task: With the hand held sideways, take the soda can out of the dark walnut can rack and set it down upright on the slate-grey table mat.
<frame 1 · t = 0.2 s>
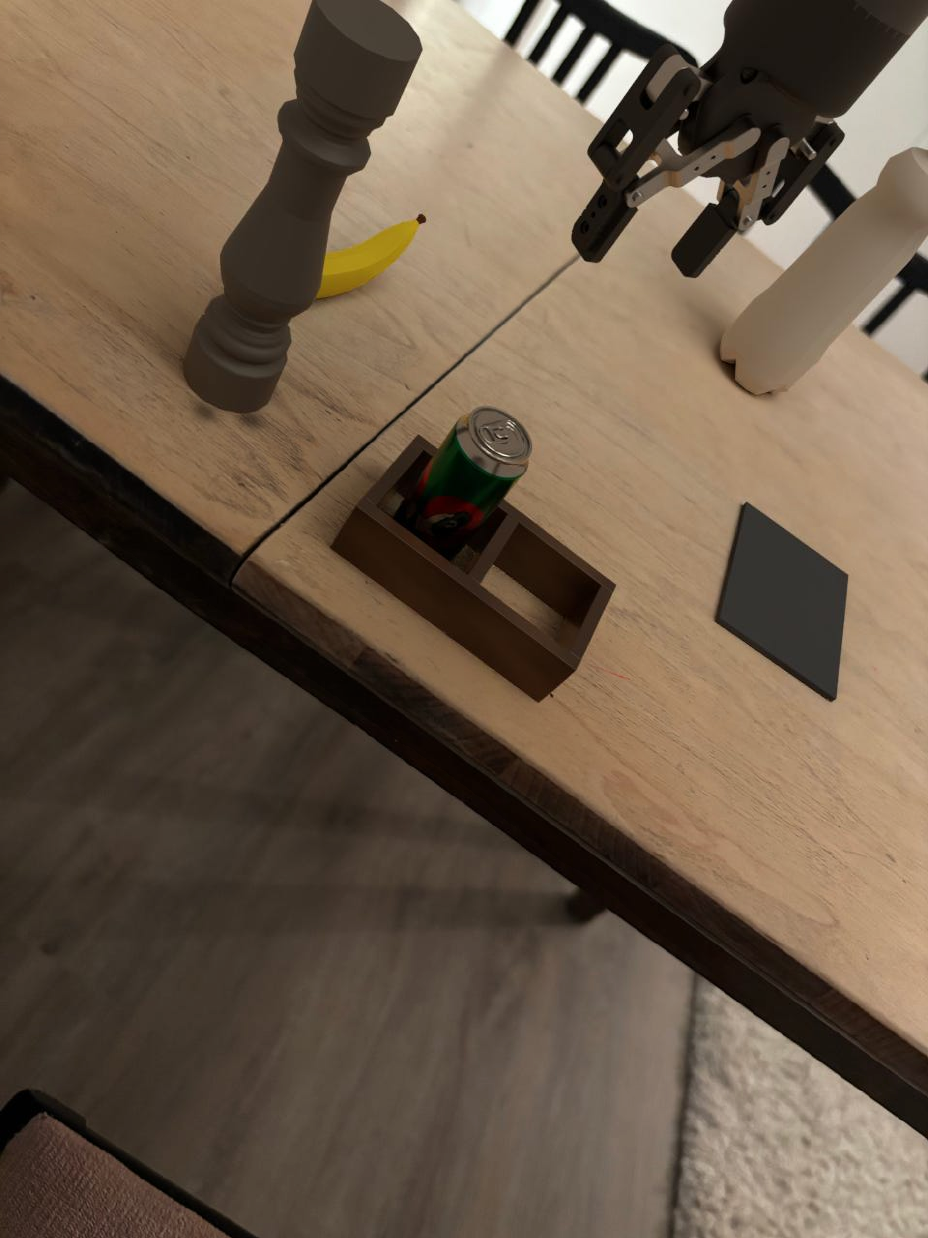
hand: (634, 260, 53), 22 cm above the table, tool pointing down, fingers open, 8 cm apart
can rack: (462, 584, 65), on the table
soda can: (413, 550, 64), resting in can rack
candle holder: (227, 379, 65), on the table
table mat: (784, 598, 82), on the table
banana: (306, 295, 73), on the table
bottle: (745, 371, 100), on the table
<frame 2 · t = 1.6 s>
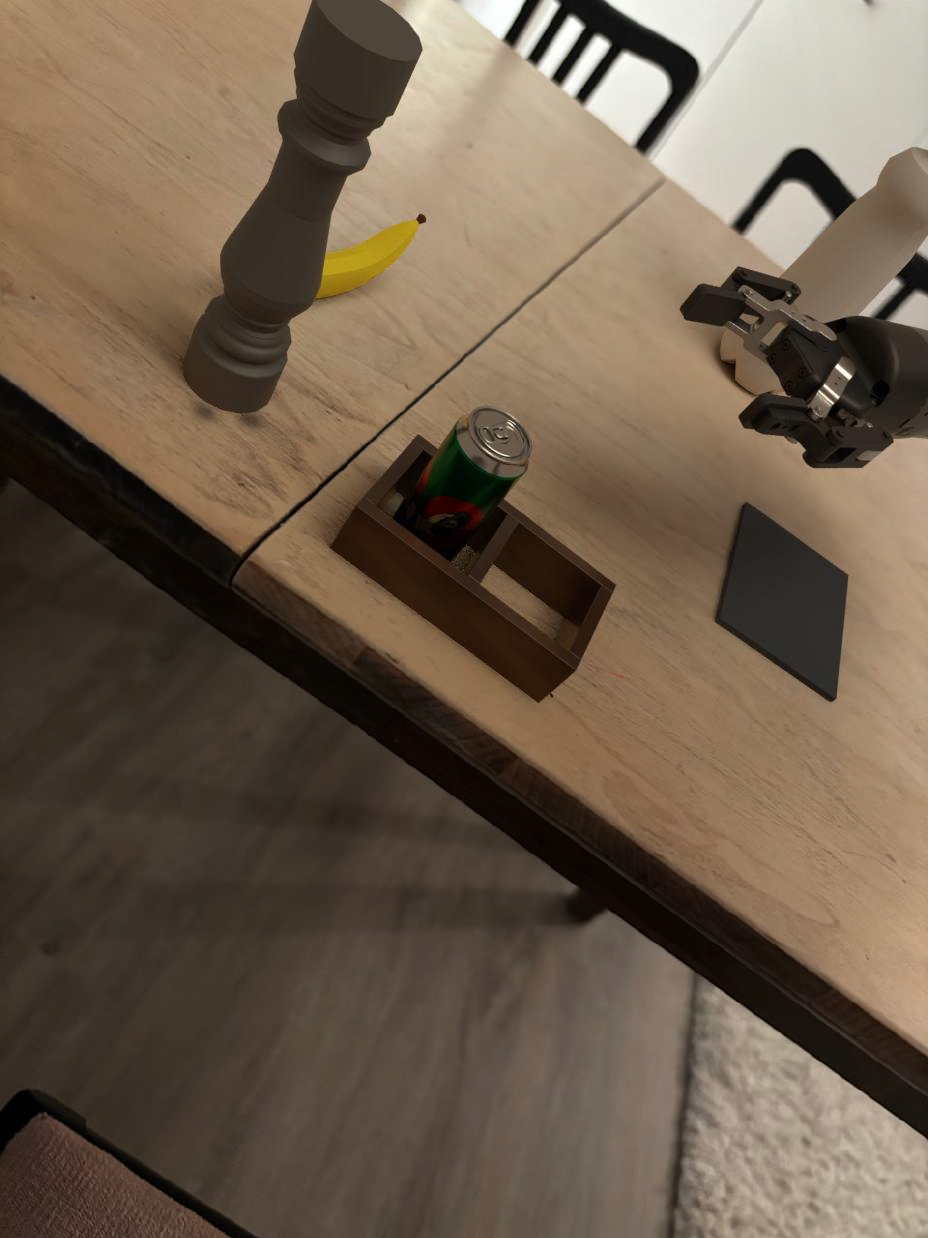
hand: (719, 354, 55), 20 cm above the table, tool horizontal, fingers open, 8 cm apart
nothing on the table moved.
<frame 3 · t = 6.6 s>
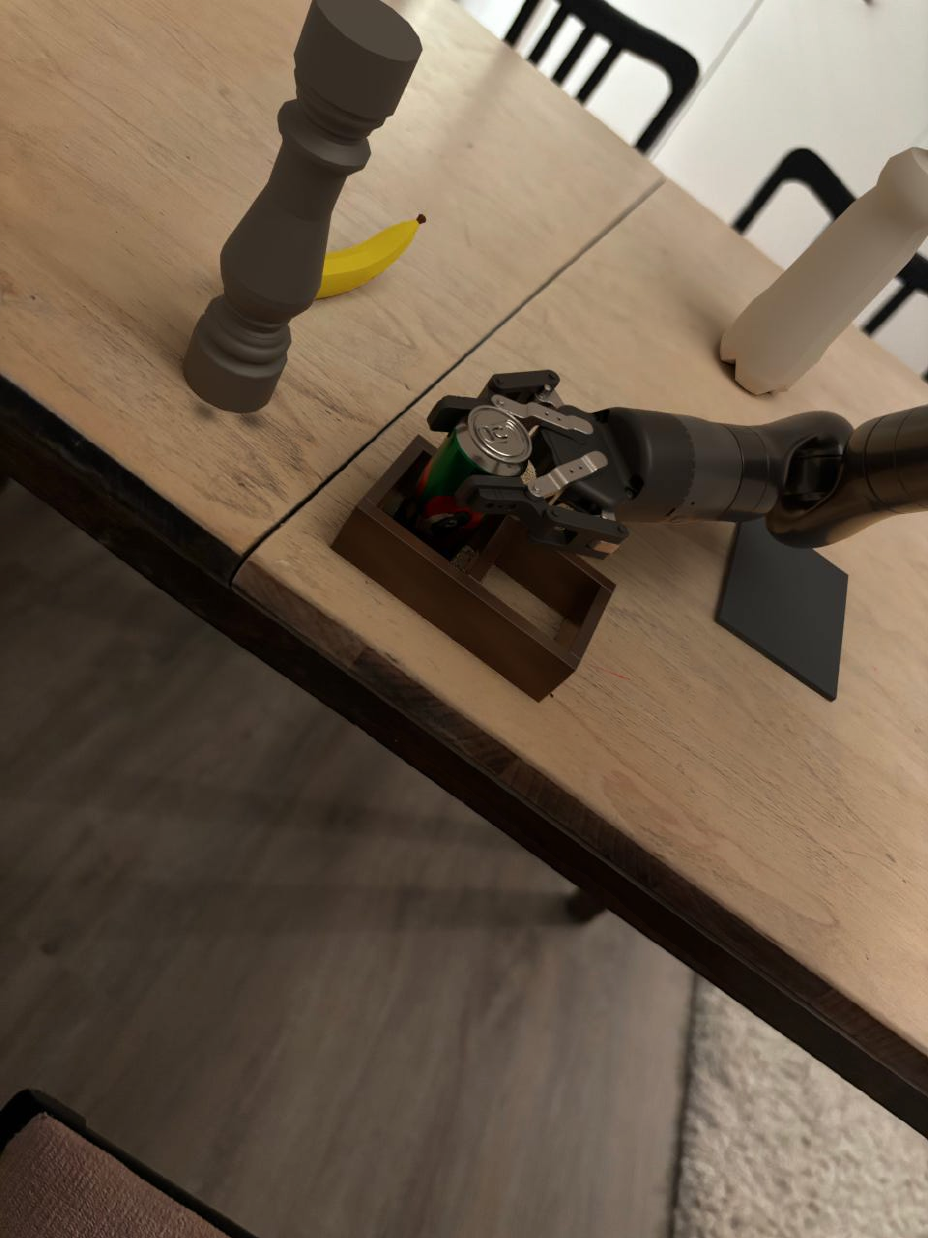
hand: (448, 452, 56), 10 cm above the table, tool horizontal, fingers closed on soda can, 5 cm apart
soda can: (414, 550, 64), resting in can rack, touching gripper
everything else where it was.
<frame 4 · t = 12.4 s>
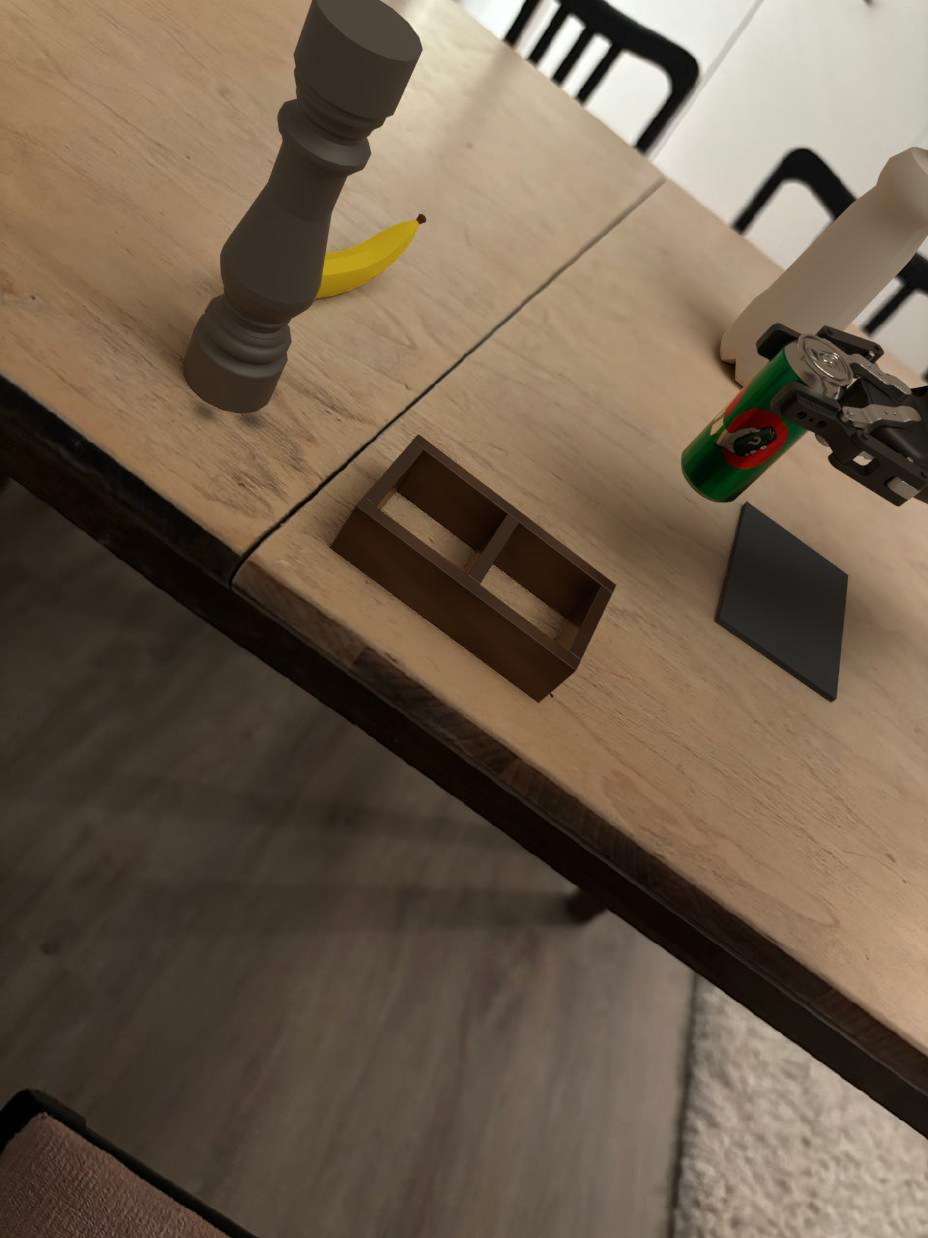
hand: (773, 366, 60), 19 cm above the table, tool horizontal, fingers closed on soda can, 5 cm apart
soda can: (703, 481, 68), point 9 cm above the table, touching gripper
everything else where it was.
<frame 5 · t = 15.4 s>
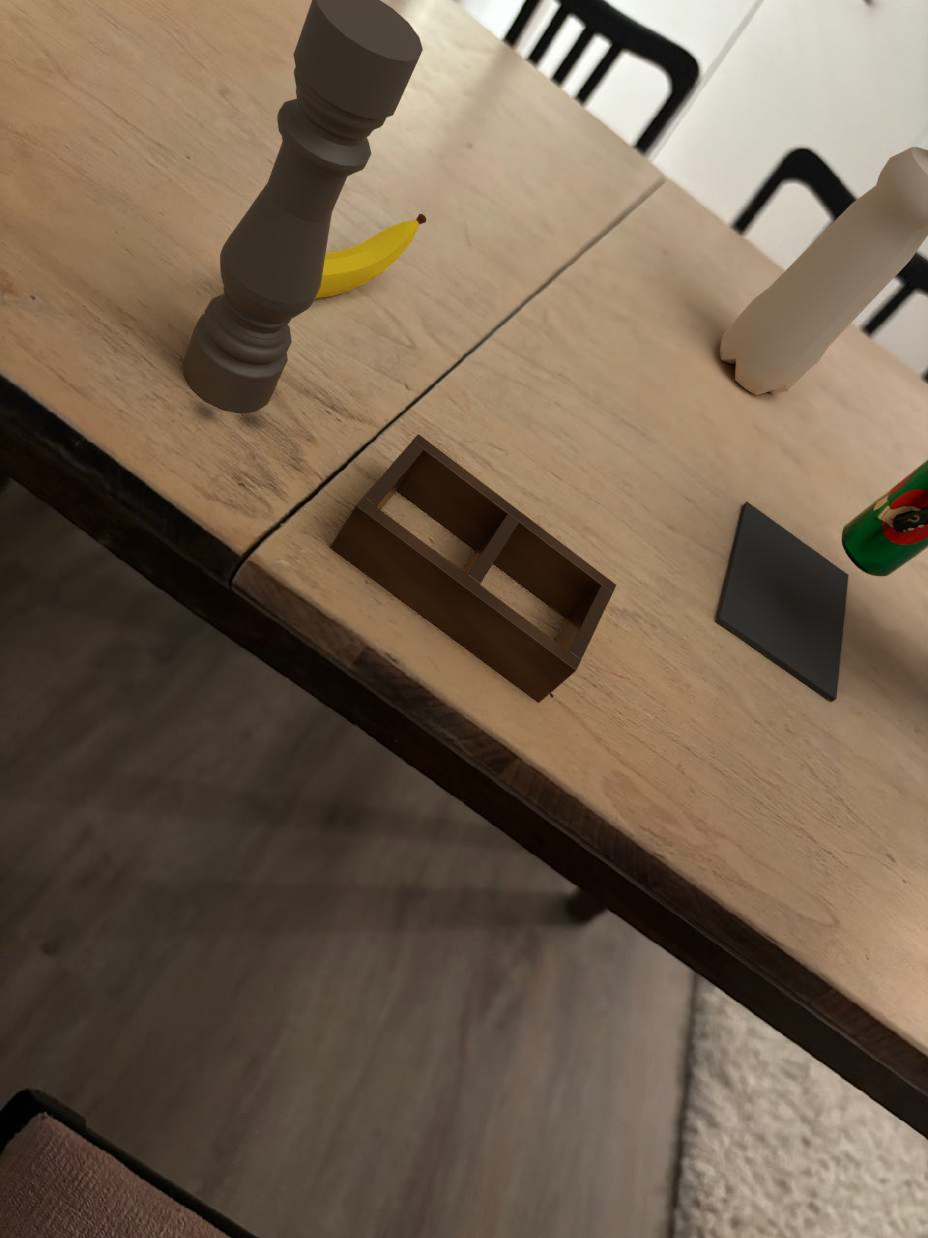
soda can: (860, 555, 74), point 9 cm above the table, touching gripper
everything else where it was.
when the fingers open (11 cm above the table, at t = 18.1 s): soda can stays where it is, resting on table mat.
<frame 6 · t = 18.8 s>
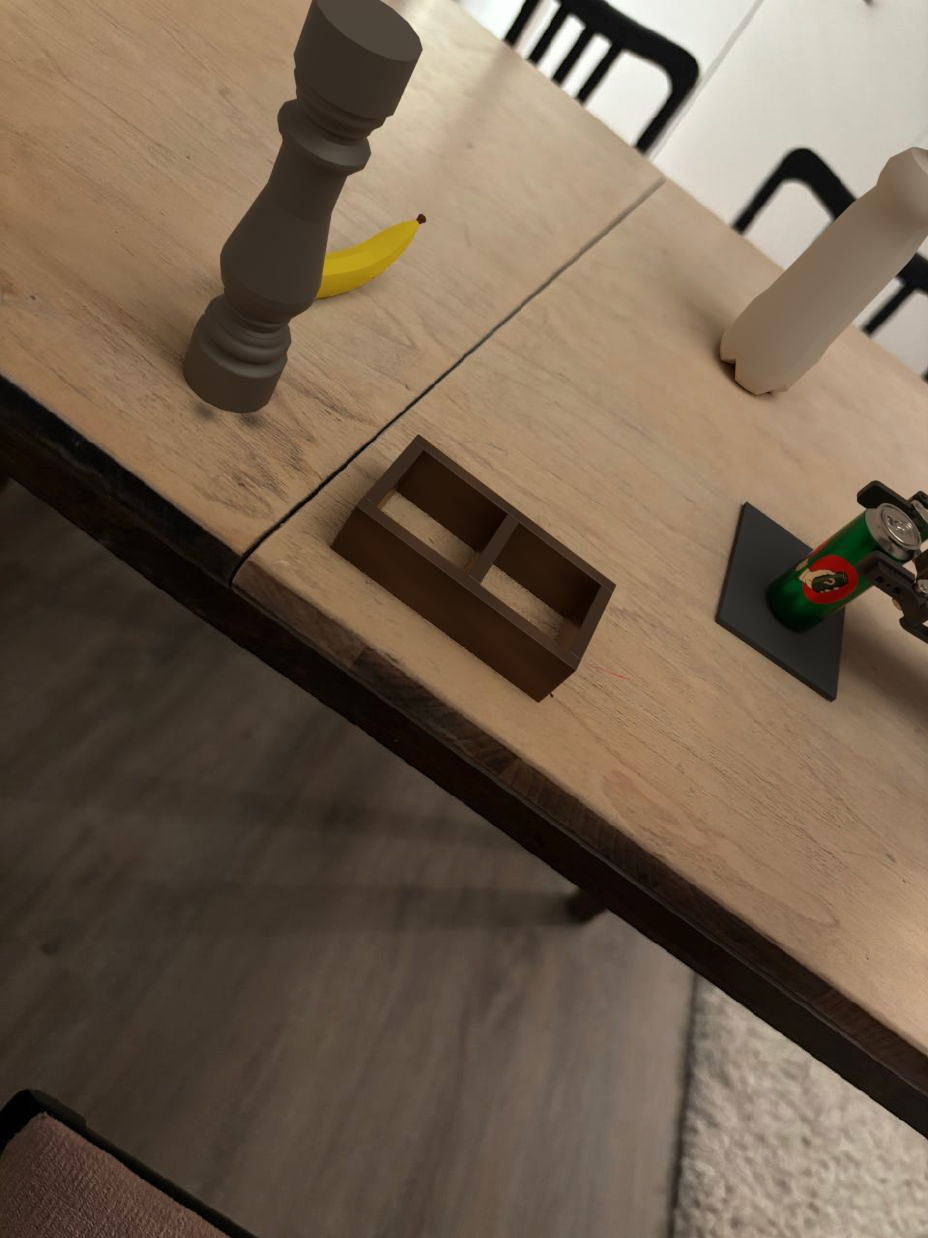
hand: (864, 523, 72), 11 cm above the table, tool horizontal, fingers open, 8 cm apart
soda can: (785, 609, 80), resting on table mat
everything else where it was.
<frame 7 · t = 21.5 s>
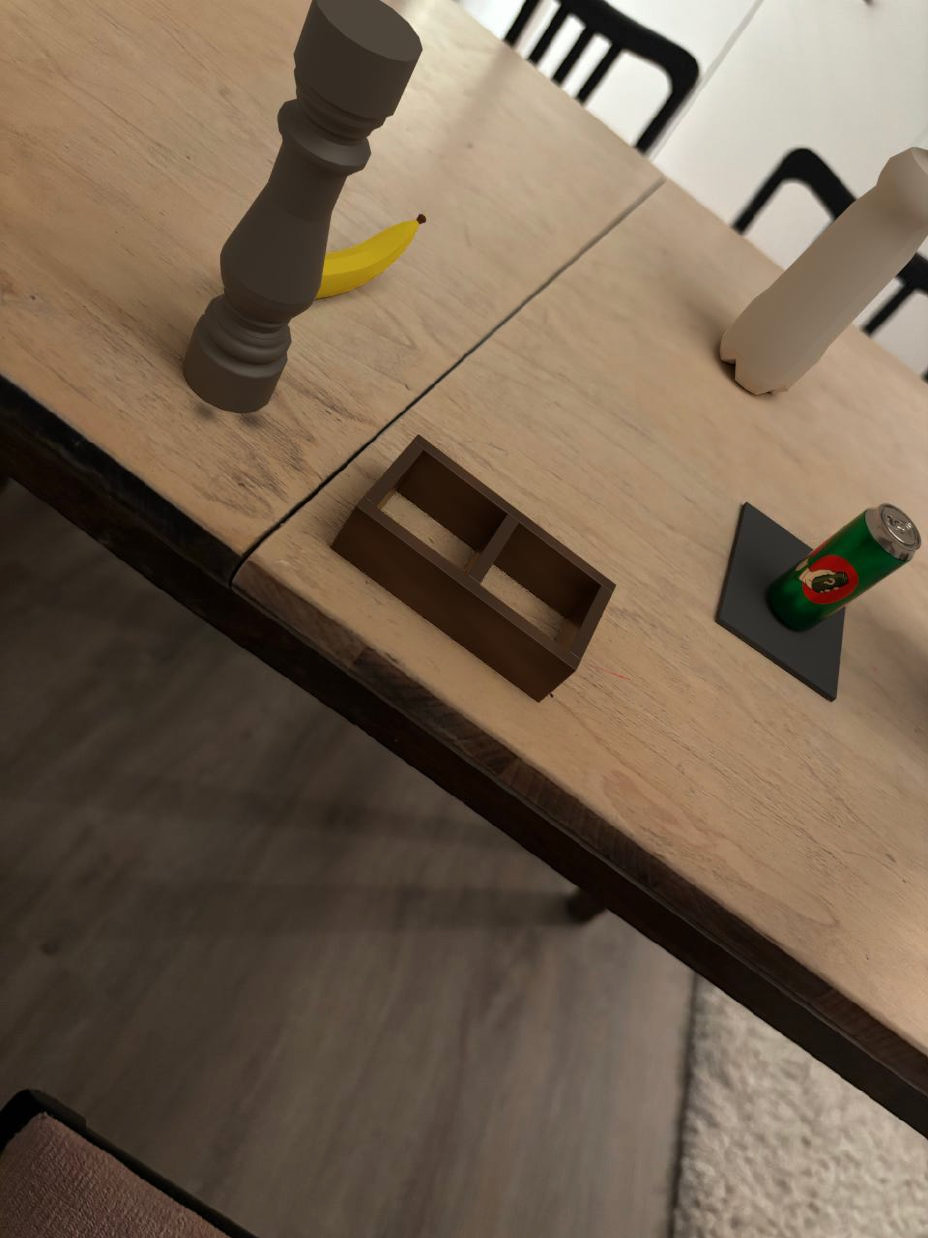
nothing on the table moved.
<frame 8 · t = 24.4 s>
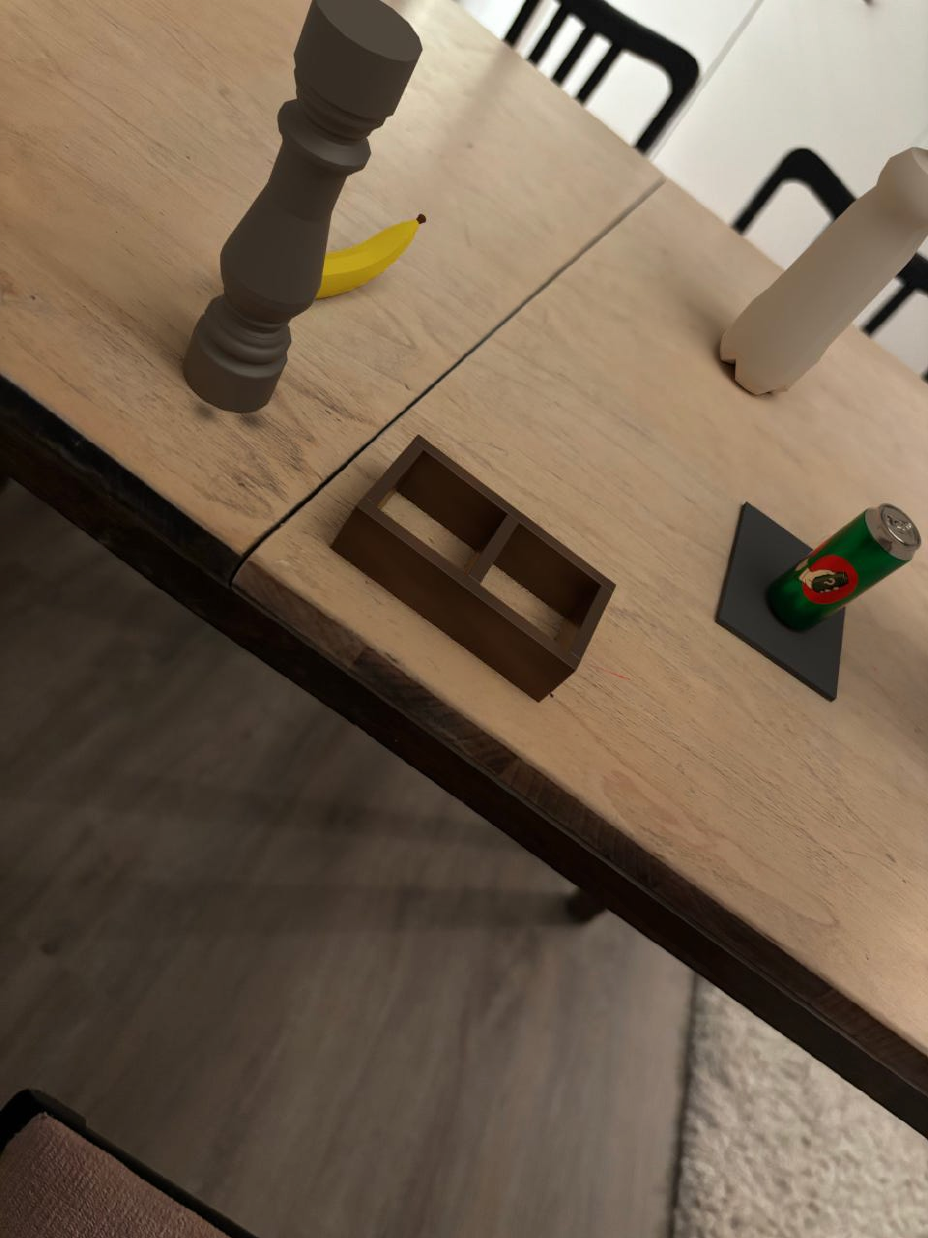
nothing on the table moved.
at the end: soda can inside the target area on the table mat (1.8 cm from its centre), point 0.4 cm above the table mat's base; soda can tilted 0°; the gripper is holding nothing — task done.
